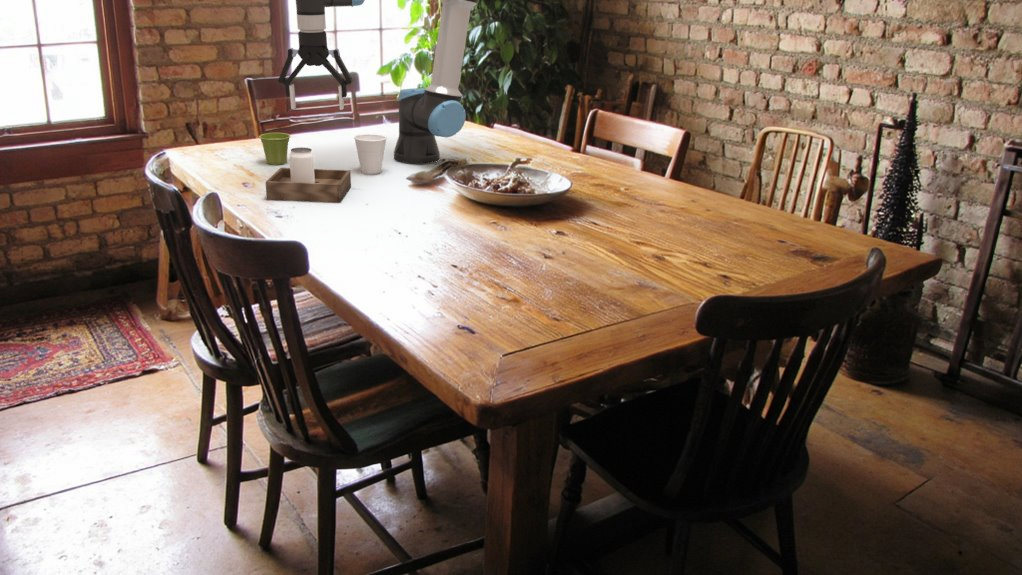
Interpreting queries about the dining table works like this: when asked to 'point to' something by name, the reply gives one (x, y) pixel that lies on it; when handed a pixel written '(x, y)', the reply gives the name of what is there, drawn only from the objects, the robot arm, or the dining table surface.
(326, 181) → the walled box
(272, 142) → the plant pot
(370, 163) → the cup
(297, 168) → the can
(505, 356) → the dining table surface
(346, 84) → the robot arm
